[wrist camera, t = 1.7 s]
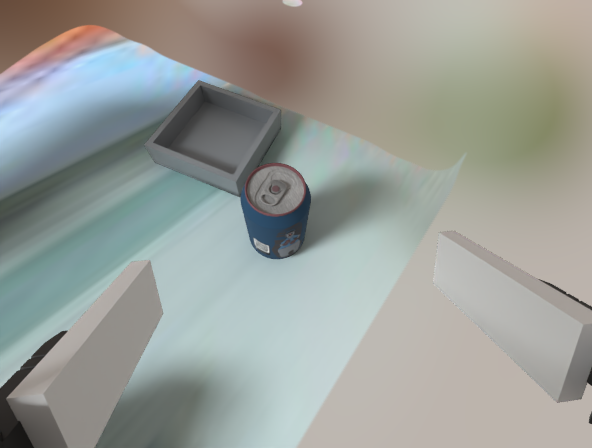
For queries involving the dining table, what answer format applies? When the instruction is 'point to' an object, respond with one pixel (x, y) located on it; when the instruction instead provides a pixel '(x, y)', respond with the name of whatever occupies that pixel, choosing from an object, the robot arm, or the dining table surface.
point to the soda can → (276, 209)
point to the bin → (215, 137)
